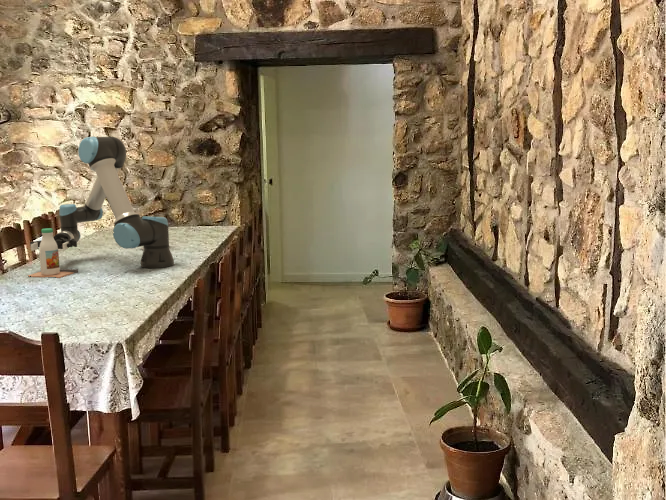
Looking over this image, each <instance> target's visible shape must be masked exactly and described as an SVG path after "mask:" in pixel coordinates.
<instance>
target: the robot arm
mask: <svg viewBox="0 0 666 500" xmlns="http://www.w3.org/2000/svg"><path fill="white" fill-rule="evenodd" d="M77 151H78V153H77V154H78V156H79V157H78V158H79V160H80V161H81V162H82V163H84V164H86V165H87V164H88V166H89V170H90V171H93V172H94V173H95V174H96V176H97V177H96V178H95V181H94V183H93V186H92V189H90V193H89V194H88V197H87V199H86V201H85V204H84V205H83V206H78V207H77V205H76V204H75V203H65V204H60V205H59V221H60V232H58V233H56V234H55V235H53V238H54V240H55V241H56V243H57V246H58V250H63V251H65V250H68V249H70V248H73V247H74V248H77V247H78V242H79V241H80V240H81V237H82V236H81V232H80V231H79V229H78V224H79V223H81V224H82V223H88V222H89V223H90V222H95V221H99V220H101V219H102V218H103V216H104V215H103V213H104V211H103V208H102V207H103V204H104V203H105V200H106V199H107V202H108V204H109V207H110V209H111V211H112V213H113V216H114V218H115V221H114V223H113V224H114V227H113V228H112V232H113V233H112V237H113V239H114V242H115V243H116V244H117V245H118V246H119V247H121V248H123V249H136V248H138V247H144V250H142V256H141V259H140V267H141V268H144V269H163V268H167V267H172V266H174V265H175V259H174V257H173V254H172V251H171V250H170V237H169V236H170V235H169V231H170V230H169V223H168V219H167V218H166V217H164V216H163V217H162V216H149V215H148V216H146V215H143V216H142V217H141V216H140V213H137V212H135V211H134V208H133V206H132V204H131V202H130V201H131V200H130V199H129V196H128V194H127V192H126V190H125V187H124V185H123V183H122V181H121V179H120V175H119V174H118V173H119V170H120V169H122V168H124V165H125V163H126V159H127V149H126V146H125V144H124V142H123V141H122V140H121V139H119V138H118V137H115V136H94V135H93V136H87V137H84V138H83V139H82V140H81V141H80V142H79V146H78V150H77ZM41 240H42V239H40V240H35V241H30V242H29V243H30V251H31V252H32V251H36V250H37V249H39V247H40V243H41Z"/></svg>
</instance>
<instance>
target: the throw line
mask: <svg viewBox="0 0 666 500" xmlns="http://www.w3.org/2000/svg"><path fill="white" fill-rule="evenodd" d="M60 272H74V273H73V274H79V269H78V268H60Z"/></svg>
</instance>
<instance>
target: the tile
mask: <svg viewBox="0 0 666 500" xmlns="http://www.w3.org/2000/svg"><path fill="white" fill-rule="evenodd" d="M74 274H75V273H74V272H60V273H59V274H54V275H42V274H41V270H40V271H38V272H34V273H31V274H28V275H27V276H29V277H28V278H45V277H56V278H55V279H61V277H62V278H64V276H65V277H67V275H68V276H71V275H74ZM30 276H31V277H30Z"/></svg>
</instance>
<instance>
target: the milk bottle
mask: <svg viewBox="0 0 666 500" xmlns="http://www.w3.org/2000/svg"><path fill="white" fill-rule="evenodd" d="M53 234H54V229H53V228H50V227H49V228H42V229H41V235H42V236H41V239H40V240H41V243H40V247H39V248H38V249H39V250H38V251H39V252H38V253H39V263H40V271H41V274H42V275H54V274H59V273H60V269H61V267H60V256H59V255H60V253H59V249H58V246H57V243H56V241H55V240H54V238H53V237H54V235H53Z"/></svg>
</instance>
